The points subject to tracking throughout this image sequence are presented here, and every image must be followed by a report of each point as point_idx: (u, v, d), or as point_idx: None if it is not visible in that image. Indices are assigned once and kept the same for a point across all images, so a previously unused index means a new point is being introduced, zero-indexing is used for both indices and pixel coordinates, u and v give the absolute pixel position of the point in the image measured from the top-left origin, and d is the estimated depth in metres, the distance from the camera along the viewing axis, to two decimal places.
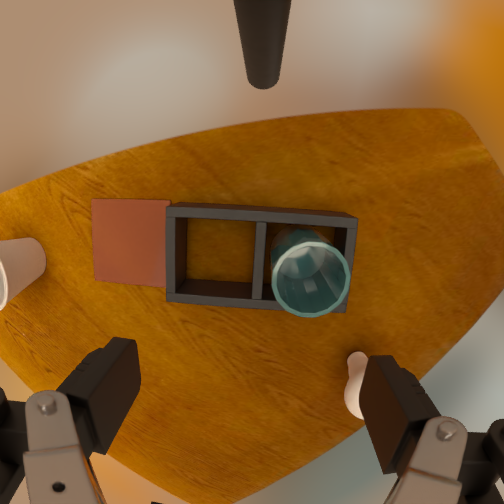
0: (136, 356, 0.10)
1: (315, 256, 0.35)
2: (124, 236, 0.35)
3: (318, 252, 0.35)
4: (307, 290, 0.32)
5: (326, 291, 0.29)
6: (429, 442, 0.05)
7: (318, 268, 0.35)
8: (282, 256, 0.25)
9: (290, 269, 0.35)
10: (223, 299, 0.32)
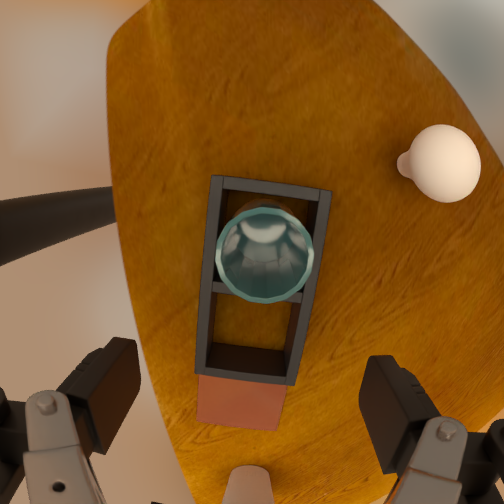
0: (136, 356, 0.10)
1: (268, 213, 0.30)
2: (233, 400, 0.35)
3: None
4: (298, 237, 0.26)
5: None
6: (429, 442, 0.05)
7: None
8: (231, 289, 0.22)
9: (282, 243, 0.31)
10: (298, 332, 0.28)
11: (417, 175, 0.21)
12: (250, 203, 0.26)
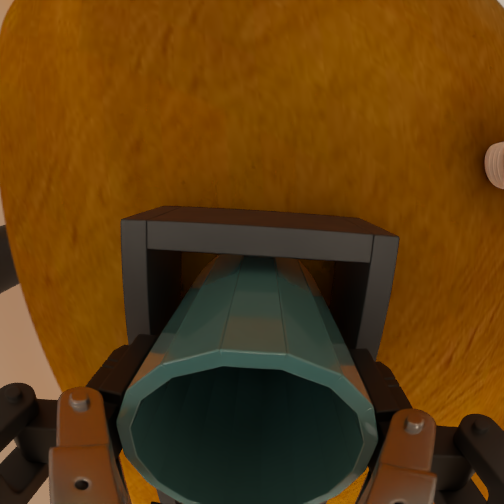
0: None
1: None
2: None
3: None
4: None
5: None
6: (397, 435, 0.06)
7: None
8: (178, 500, 0.07)
9: None
10: None
11: None
12: (215, 273, 0.12)
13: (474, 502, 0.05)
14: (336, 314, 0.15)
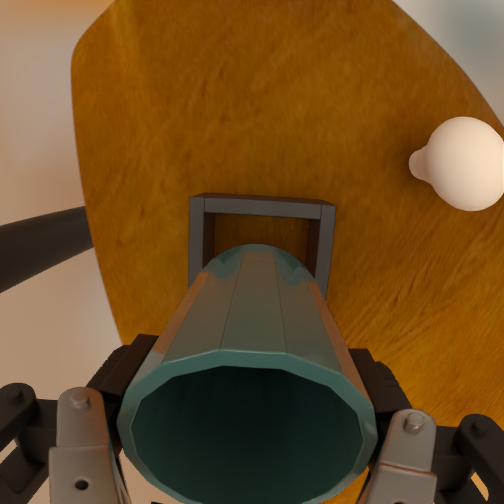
0: None
1: None
2: None
3: None
4: None
5: None
6: (397, 435, 0.06)
7: None
8: (178, 499, 0.07)
9: None
10: None
11: (438, 181, 0.17)
12: (215, 273, 0.12)
13: (474, 502, 0.05)
14: (309, 257, 0.25)
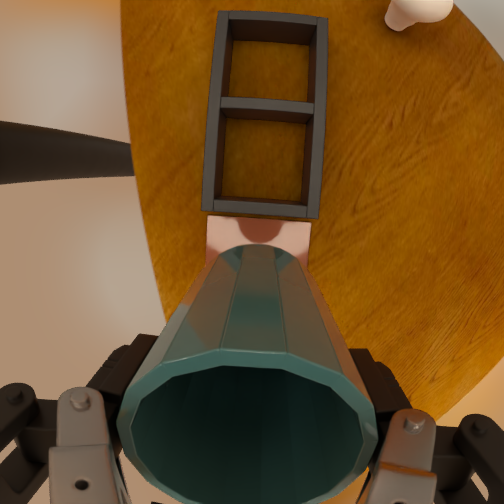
0: None
1: None
2: None
3: None
4: None
5: None
6: (397, 435, 0.06)
7: None
8: (178, 499, 0.07)
9: None
10: (314, 146, 0.25)
11: None
12: (215, 273, 0.12)
13: (474, 502, 0.05)
14: (310, 69, 0.26)
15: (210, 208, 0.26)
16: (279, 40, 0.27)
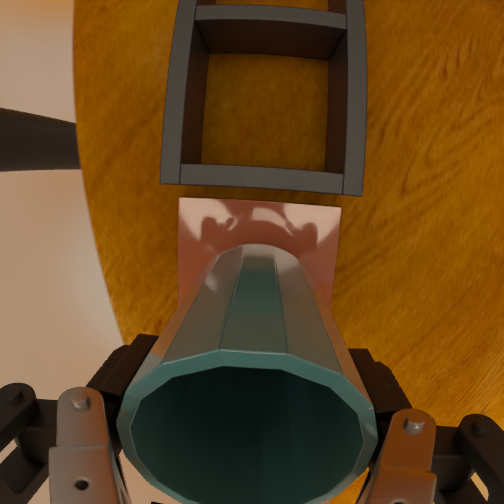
0: None
1: None
2: None
3: None
4: None
5: None
6: (397, 435, 0.06)
7: None
8: (178, 500, 0.07)
9: None
10: (352, 75, 0.13)
11: None
12: (215, 273, 0.12)
13: (474, 502, 0.05)
14: None
15: (175, 179, 0.15)
16: None
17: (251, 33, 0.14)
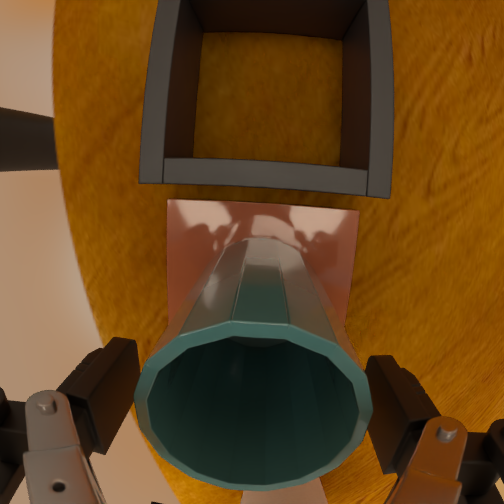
0: (136, 356, 0.10)
1: None
2: None
3: None
4: None
5: None
6: (429, 442, 0.05)
7: None
8: (188, 473, 0.08)
9: None
10: (375, 51, 0.10)
11: None
12: (223, 263, 0.13)
13: None
14: None
15: (157, 177, 0.12)
16: None
17: (252, 4, 0.11)
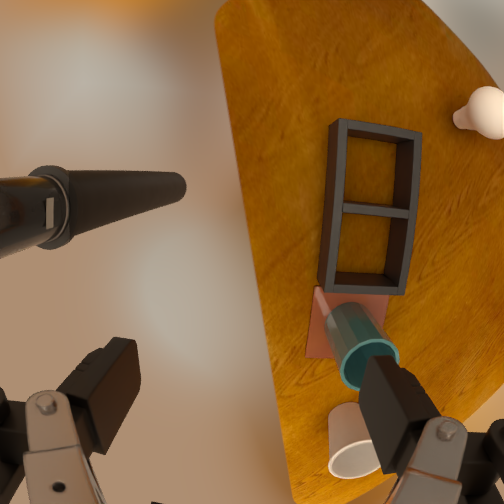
0: (136, 356, 0.10)
1: None
2: None
3: None
4: None
5: None
6: (429, 442, 0.05)
7: None
8: (348, 386, 0.30)
9: None
10: (407, 243, 0.32)
11: (477, 119, 0.26)
12: (348, 317, 0.35)
13: None
14: (400, 170, 0.34)
15: (331, 290, 0.34)
16: (374, 139, 0.34)
17: None
